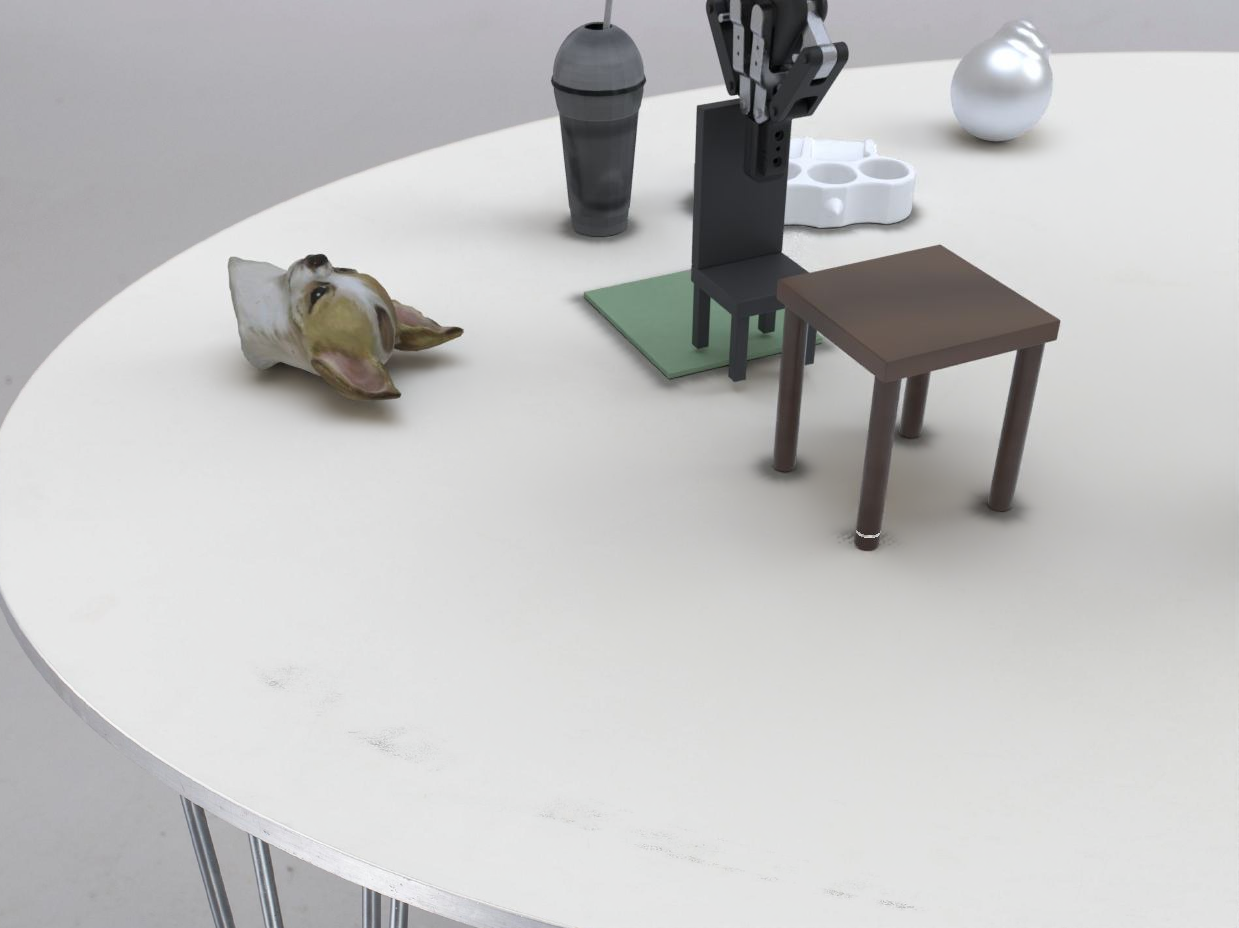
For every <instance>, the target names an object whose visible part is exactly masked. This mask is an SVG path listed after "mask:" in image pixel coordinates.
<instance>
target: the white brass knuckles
mask: <svg viewBox="0 0 1239 928" xmlns="http://www.w3.org/2000/svg"><path fill="white" fill-rule="evenodd" d="M877 151H878V143H877V142H875V140H874V139H865V140H864V141H849V140H835V139H834V140H833V139H814V138H813V137H811V136H804V137H803V138H794V137H793V138H792V137H791V139H790V152H789V166H788V179H787V192H786V206H785V219H784V226H787V225H788V226H789V225H798V226H799V225H800V226H808V227H809V226H810V227H814V228H818V229H826V228H842V227H845V226H848V225H852V224H854V225H855V224H861V223H872V224H873V223H874V224H883V225H889V224H895V223H898V222H902V221H903V220H905V219H907V218H909V216H910V215H911V213H912V210H913V203H914V195H915V188H916V179H917V171H916V168H914V166H913V165H911V164H910V163H908V162H906V161H904V160H901V159H898V158H894V157H889V156H883V155H881V154H879V153H877ZM694 172H695V163H694V165H693V173H694ZM692 185H693V186H692V187H693V188H692V189H693V190H692V202H694V183H693V184H692Z"/></svg>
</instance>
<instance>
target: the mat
mask: <svg viewBox="0 0 1239 928" xmlns="http://www.w3.org/2000/svg"><path fill="white" fill-rule="evenodd" d="M693 294H694V283H693V282H692V281H691V269H686V270H682V271H677V272H672V273H669V274H668V273H667V274H663V275H658V276H654V277H649V278H645V279H639V280H634V281H629V282H625V283H620V284H615V285H611V286H606V287H601V288H595V289H591V290H588V291H584V292H583V297H584V299H586V300H587V301H588V302H589V303H590V304H591V305H592V306H593V307H594V308H595V309H596V310H597V311H598V312H599V313H600V314H601V315H602V316H603V317H604V318H605V319H606V320H608V321H609V322H610V323H611V325H613V326H614V327H615V328H616V330H618V331H619V332H620V333H621V334H622V335H623V336H624V338H626V339H627V340H628V341H629V342H630V343H631V344H632V345H633V346H634V347H636V349H638V351H639V352H641V353H642V355H644V356H645V357H646V358H647V359H648V360H649V361H650V362H651V363H652V364H653V365H654V366H655V367H656V368H657V369H658V370H659V371H660V372H661V373H662V374H664V375H665V376H666V378H667V379H669V380H671V379H674V378H679V377H681V376H682V377H683V376H687V375H691V374H695V373H700V372H703V371H707V370H713V369H717V368H720V367H721V368H722V367H724V366H729V352H730V334H731V314H730V313H729V312H728V311H726V310H725V309H724V308H723V307H722V306H720V305H719V304H718V303H717V302H716V301H714V300H713V299H712V298H711V302H710V325H709V346H708V347H705V348H700V349H697V348H696V347H695V346H693V345H692V323H693ZM784 313H785V309H781V310H777V311H776V320H775V331H774V332H770V333H766V334H763V333H762V332H761V331H760V330H759V329H758V318H759V315H755V316H750V318H749V334H748V350H747V361H750V360H754V359H760V358H763V357H767V356H771V355H776V354H781V351H782V338H783V325H784ZM822 343H823V337H822V336H821V335H820V334H819V333H817V334H816V344H815V345H818V344H822Z"/></svg>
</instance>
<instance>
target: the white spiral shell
mask: <svg viewBox="0 0 1239 928" xmlns="http://www.w3.org/2000/svg"><path fill="white" fill-rule="evenodd" d="M1051 54H1052V44H1051V42H1050V41H1049V40H1048V38H1046V37H1045V36H1044V34H1043V33H1042V32H1041V30H1040V29H1039V27H1038V26H1037V25H1036V24H1034V23H1033V22H1032V20H1031V19H1028V18H1017V19H1012V20H1009V21H1006V22H1005V23H1004V24H1002V25H1001V26H1000V28H998V29H997V31H995V33H994V34H993V36H992V37H989V38H987V39H984V40H982V41H981V42H979V43H978V44H976V45H974V46H973V47H972V48H971V49H969V50H968V51H967V52H966V53H965V54H964V56H963V57H962V58H961V59H960V61H959V63H958V64H957V66H956V69H955V70H954V73H953V76H952V79H951V81H950V82H951V83H950V91H949V93H950V95H949V96H950V104H951V109H952V111H953V114H954V116H955V118H956V120H957V121H958V123H959V125H960V126H961V127H962V128H963V129H964V130H965V131H967V132H968V133H969V134H971V135H972V136H974V137H976V138H978V139H981V140H983V141H988V142H1005V141H1010V140H1013V139H1015V138H1016V139H1017V138H1018V137H1020V136H1022V135H1024V134H1026V133H1027V132H1029V131H1030V130H1031V129H1032V128H1033V127H1035V126H1036V125H1037V124H1038V123H1039V121H1040V120H1041V119H1042V118H1043V116H1044V115H1045V113H1046V111H1047V110H1048V107H1049V105H1050V102H1051V99H1052V95H1053V91H1054V76H1053V70H1052V68H1051V65H1050V61H1049V59H1050V56H1051Z"/></svg>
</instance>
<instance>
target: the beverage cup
mask: <svg viewBox="0 0 1239 928" xmlns="http://www.w3.org/2000/svg"><path fill="white" fill-rule="evenodd" d="M613 1H614V0H605V3H604V5H605V6H604V14H603V21H592V22H588V23H584V24H582V25H580V26H578V27H576V28H574V29H573V30H572V31H571V32H570V33H569V34H568V35H567V36H566V37H565V39H564V40H563V41H562V43H561V44H560V46H559V48H558V49H557V51H556V52H557V53H556V55H555V58H554V62H553V67H552V76H551V79H550V83H551V85H552V87H553V94H554V99H555V104H556V107H557V112H558V115H559V125H560V135H561V144H562V153H563V163H564V171H565V172H564V173H565V181H566V189H567V200H568V207H569V211H570V217H571V227H572V230H574V231H575V232H577V233H578V234H581V235H584V236H589V237H609V236H614V235H617V234H620V233H623V232H624V231H625V230H626V229H627V227H628V218H629V212H630V208H631V201H632V200H631V198H632V187H633V179H634V177H633V176H634V168H635V167H634V166H635V157H636V155H635V154H636V145H637V134H638V125H639V124H638V123H639V112H640V109H641V107H642V101H643V96H644V91H645V84H647V83H646V82H647V77H646V74H645V66H644V62H643V61H644V60H643V58H642V55H641V52H640V49H639V48H638V46H637V45H636V43H635V41H634V40H633V38H632V37H631V35H629V33H628V32H626V31H625V30H624V29H622V28H620V27H619V26H617V25H615V24H613V23H611V19H612V10H613Z"/></svg>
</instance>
